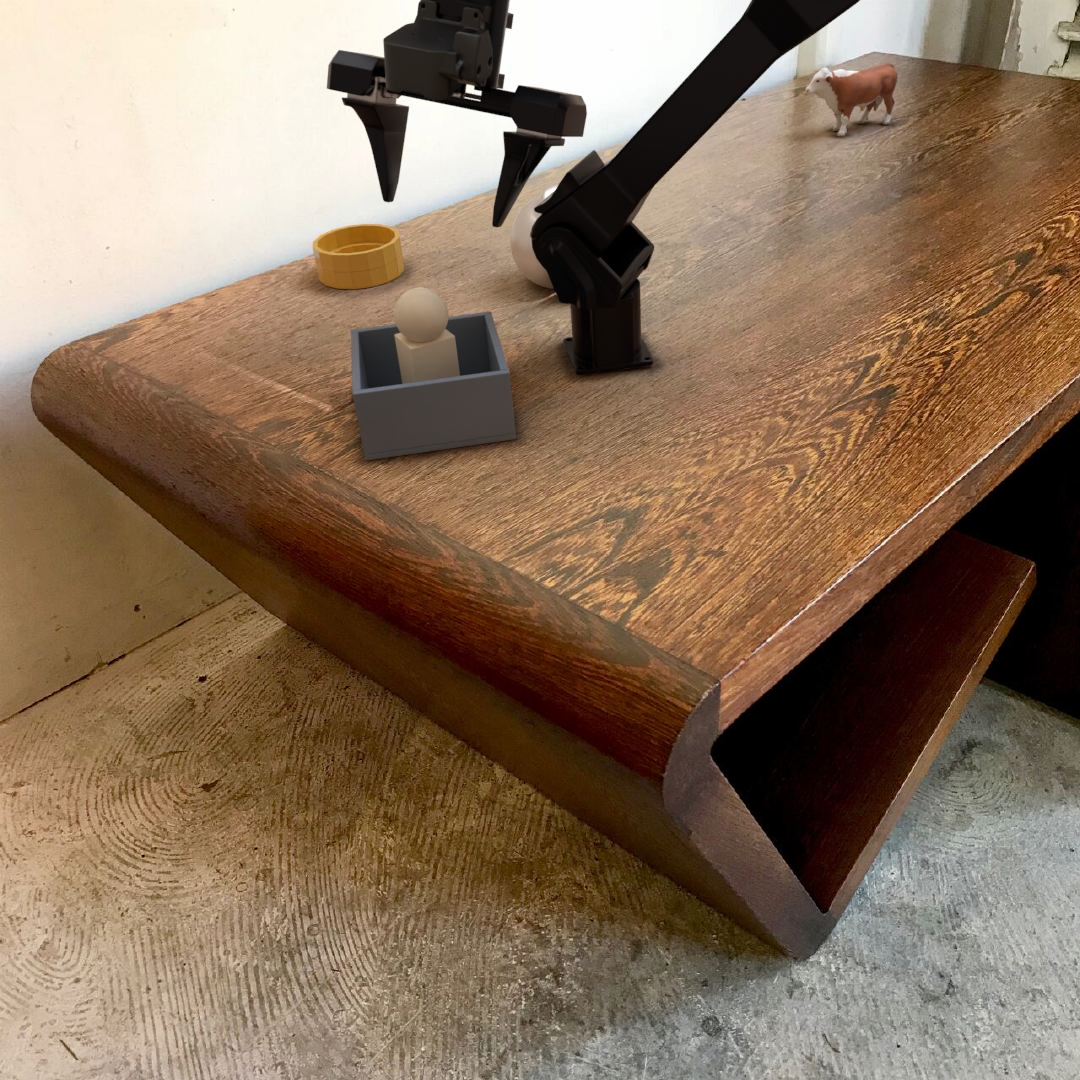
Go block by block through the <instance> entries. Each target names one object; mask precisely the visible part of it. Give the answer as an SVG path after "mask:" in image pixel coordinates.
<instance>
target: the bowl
mask: <svg viewBox="0 0 1080 1080" xmlns="http://www.w3.org/2000/svg"><path fill="white" fill-rule="evenodd" d="M312 251H313V256H314V257H313V258H314V260H315V261H314V262H315V266H316V271H317V277H318V281H319V282H320V283H321V284H323V285H324V286H325V287H329V288H333V289H336V290H361V289H367V288H368V289H369V288H373V287H377V286H380V285H385V284H387V283H389V282H391V281H394V280H395V279H397V278H399V277H400V276H401V275H402V274H403V272H405V270H406V267H405V262H404V255H403V248H402V241H401V236H400V230H398V229H397V228H396V227H393V226H391V225H387V224H380V223H360V224H359V223H358V224H351V225H345V226H342V227H338V228H334V229H331V230H329V231H326V232H324V233H321V234H320V235H318V237H316V238H315V239H314V240H313V241H312Z"/></svg>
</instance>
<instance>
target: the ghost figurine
mask: <svg viewBox="0 0 1080 1080" xmlns="http://www.w3.org/2000/svg"><path fill="white" fill-rule="evenodd" d="M559 183H560V182H557V183H553V184H550V185H549V186H546V187H545V189H543V191H542V193H541V194H539V195H537V196H534V197H533V198H531V199H530V200H529V201H527V202H526V203H525V204H524V205H523V206H522V207H521V208H520V210H519V211H518V213H517V214H516V216H515V218H514V220H513V223H512V225H511V229H510V235H509V238H510V239H509V245H510V251H511V256H512V259H513V261H514V263H515V266H516V267H517V268H518V270H519V271H520V273H522V275H523V276H524V277H526V279H527V280H529V281H530V282H532V283H533V284H535V285H538V286H539V287H543V288H546V289H552V290H554V288H553V285H552V283H551V281H550V278H549V276H548V273H547V271H546V269H544V268H543V267H542V265H541V264H540V263H539V261H538V260H537V259H536V256H535V254H534V251H533V248H532V240H531V237H530V233H531V229H532V226H533V225H534V223H535V221H536V220H537V218H538V217H540V216H541V215H542V214H540V213H537V212H535V211H534V208H535V207H536V206H537V205H538V204H540V203H541V202H542V201H543V200H544V199H545V198H546V197H548V196H549V195H550V194H551V193H552V192H553V191H555V190H556V189H557V187H558V185H559Z"/></svg>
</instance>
